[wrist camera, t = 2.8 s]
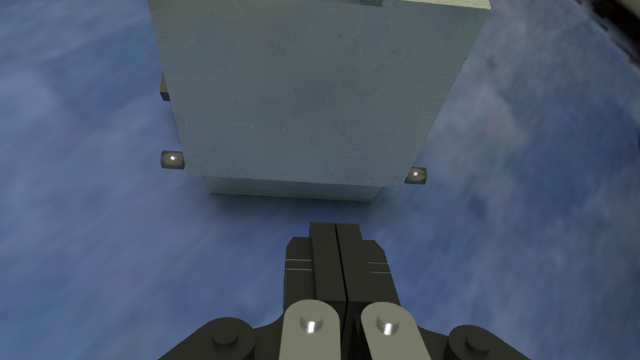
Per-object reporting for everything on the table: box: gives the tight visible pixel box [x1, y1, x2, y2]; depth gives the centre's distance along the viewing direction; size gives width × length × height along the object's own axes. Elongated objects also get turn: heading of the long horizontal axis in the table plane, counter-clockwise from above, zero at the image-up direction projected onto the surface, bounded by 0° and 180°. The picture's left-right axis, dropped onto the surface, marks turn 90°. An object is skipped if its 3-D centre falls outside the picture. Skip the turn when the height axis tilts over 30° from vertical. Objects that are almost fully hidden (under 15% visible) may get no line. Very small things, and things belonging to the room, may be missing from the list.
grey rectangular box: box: [160, 71, 427, 202], centre depth 43 cm, size 17×24×10 cm
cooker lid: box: [147, 0, 491, 188], centre depth 28 cm, size 20×17×1 cm
